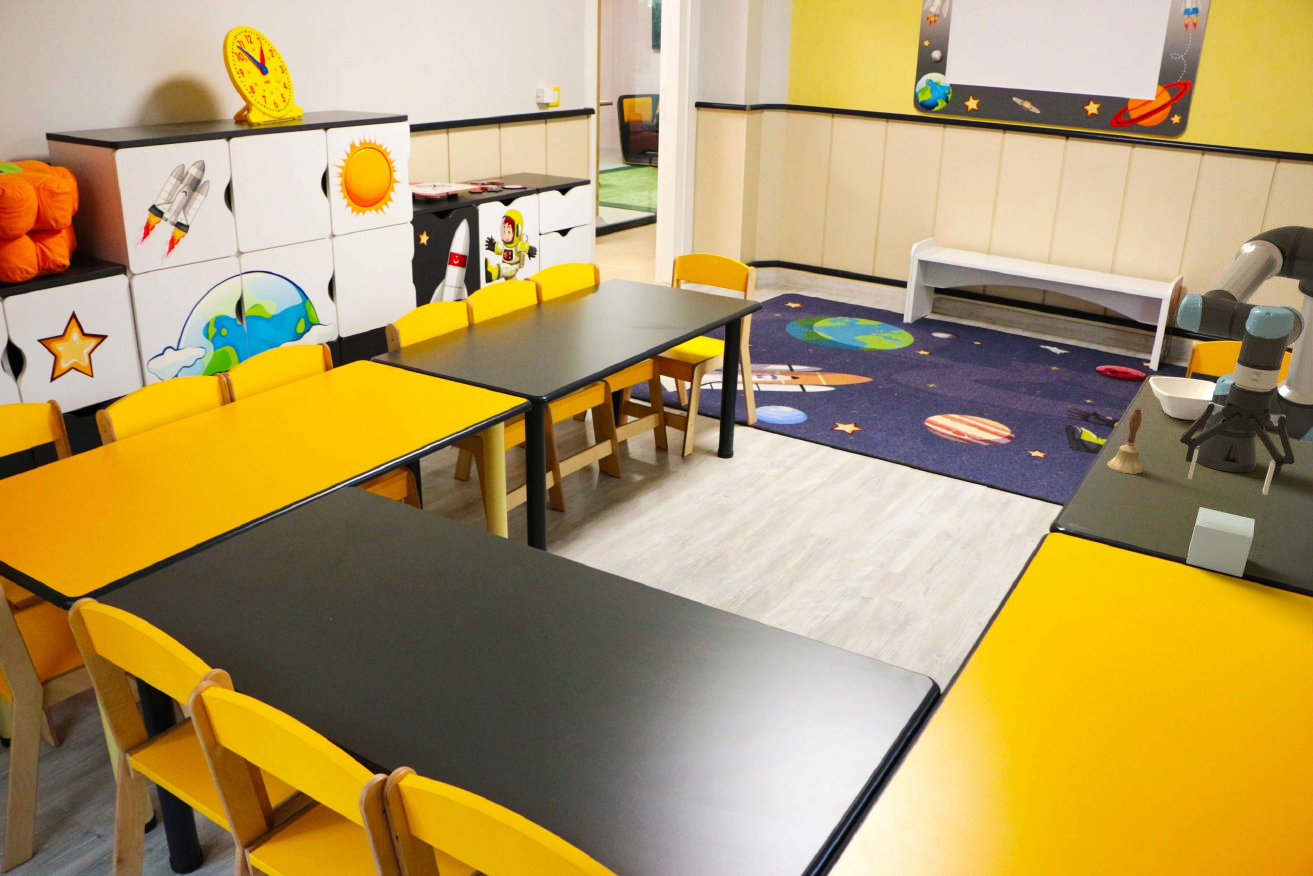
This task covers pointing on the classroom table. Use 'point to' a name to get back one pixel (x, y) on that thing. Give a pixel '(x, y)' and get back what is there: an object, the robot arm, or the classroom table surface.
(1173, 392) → the bowl
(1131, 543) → the classroom table surface
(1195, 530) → the rounded gray box
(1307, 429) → the robot arm
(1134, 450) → the hand bell
